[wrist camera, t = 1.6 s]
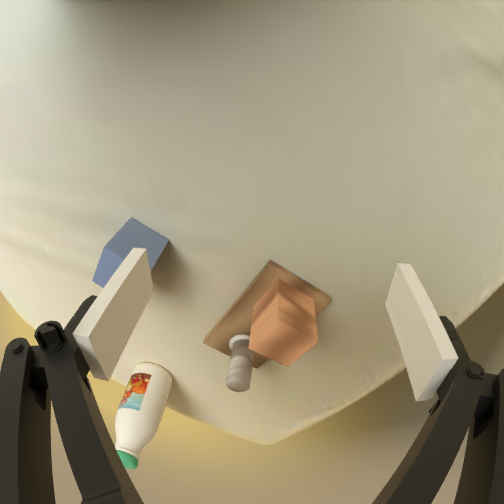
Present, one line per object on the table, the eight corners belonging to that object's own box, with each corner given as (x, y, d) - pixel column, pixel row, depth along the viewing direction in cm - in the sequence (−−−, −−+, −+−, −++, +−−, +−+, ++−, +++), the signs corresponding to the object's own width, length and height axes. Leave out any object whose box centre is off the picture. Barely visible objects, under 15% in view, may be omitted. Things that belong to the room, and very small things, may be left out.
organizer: (204, 338, 48) (192, 383, 41) (270, 260, 40) (266, 306, 32) (257, 364, 51) (252, 408, 43) (330, 296, 42) (338, 344, 34)
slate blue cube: (117, 249, 41) (92, 281, 35) (131, 217, 39) (104, 246, 32) (152, 270, 43) (132, 305, 36) (169, 240, 40) (148, 273, 33)
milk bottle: (171, 365, 53) (140, 462, 36) (174, 389, 57) (149, 477, 40) (132, 357, 53) (94, 448, 36) (138, 380, 57) (107, 464, 40)
